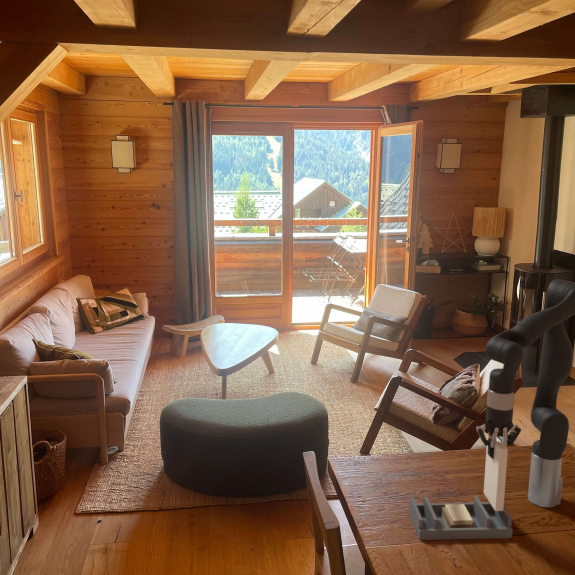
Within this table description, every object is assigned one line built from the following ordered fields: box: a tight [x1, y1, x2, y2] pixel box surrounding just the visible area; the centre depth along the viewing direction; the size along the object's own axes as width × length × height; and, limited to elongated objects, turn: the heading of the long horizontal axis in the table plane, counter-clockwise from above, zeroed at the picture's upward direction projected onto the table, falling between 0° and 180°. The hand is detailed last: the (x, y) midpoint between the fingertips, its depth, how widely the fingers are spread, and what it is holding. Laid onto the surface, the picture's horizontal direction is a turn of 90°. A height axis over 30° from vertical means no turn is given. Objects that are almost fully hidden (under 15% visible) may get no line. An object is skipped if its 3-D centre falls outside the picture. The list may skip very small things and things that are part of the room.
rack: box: [408, 495, 513, 541], centre depth 179 cm, size 28×14×7 cm, turn 91°
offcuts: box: [441, 504, 473, 528], centre depth 179 cm, size 7×10×4 cm
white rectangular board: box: [483, 433, 509, 511], centre depth 176 cm, size 2×10×20 cm, turn 1°
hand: (496, 456), depth 175 cm, fingers closed on white rectangular board, 2 cm apart
